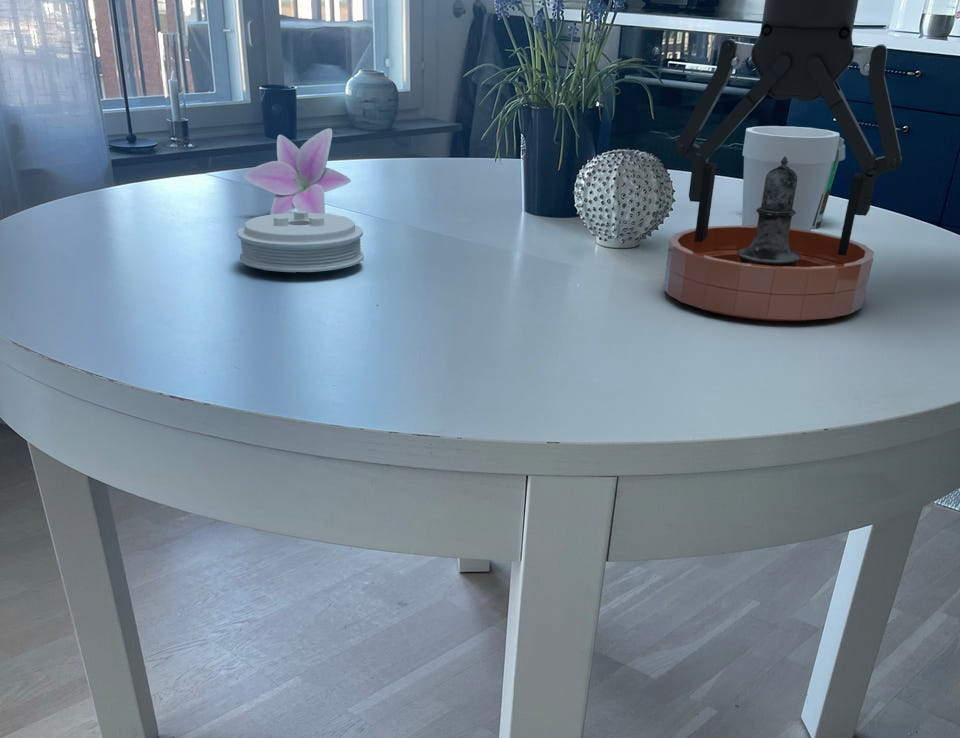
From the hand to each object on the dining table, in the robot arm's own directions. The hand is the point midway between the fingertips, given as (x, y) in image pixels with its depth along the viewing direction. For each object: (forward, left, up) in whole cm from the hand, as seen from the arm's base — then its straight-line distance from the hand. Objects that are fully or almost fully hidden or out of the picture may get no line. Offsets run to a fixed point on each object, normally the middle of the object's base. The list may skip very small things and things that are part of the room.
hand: (770, 246), depth 95 cm
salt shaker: (0, 0, -5) cm, 5 cm away
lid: (+46, +7, -5) cm, 47 cm away
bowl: (0, 0, -5) cm, 5 cm away
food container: (+1, -43, -5) cm, 43 cm away
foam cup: (+1, -16, -5) cm, 17 cm away
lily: (+58, -15, -5) cm, 60 cm away
